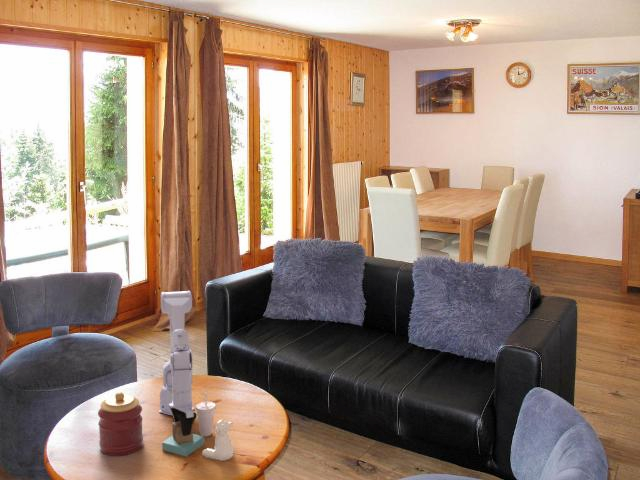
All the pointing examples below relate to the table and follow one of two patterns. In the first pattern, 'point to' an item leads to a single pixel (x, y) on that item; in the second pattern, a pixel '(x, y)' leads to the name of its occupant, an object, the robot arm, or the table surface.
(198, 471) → the table surface
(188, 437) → the walnut block
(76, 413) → the table surface
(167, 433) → the table surface
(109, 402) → the canister
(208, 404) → the smoothie
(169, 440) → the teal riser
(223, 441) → the seated beast figurine
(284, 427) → the table surface
